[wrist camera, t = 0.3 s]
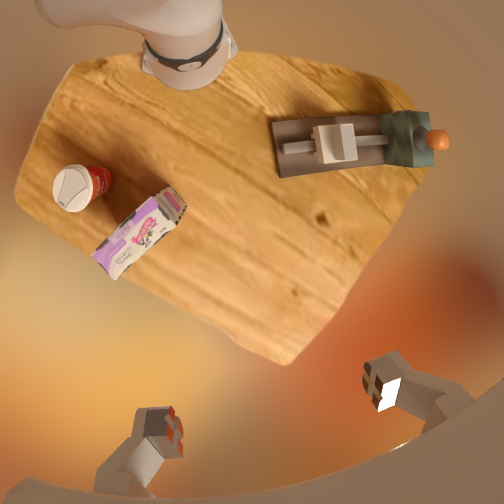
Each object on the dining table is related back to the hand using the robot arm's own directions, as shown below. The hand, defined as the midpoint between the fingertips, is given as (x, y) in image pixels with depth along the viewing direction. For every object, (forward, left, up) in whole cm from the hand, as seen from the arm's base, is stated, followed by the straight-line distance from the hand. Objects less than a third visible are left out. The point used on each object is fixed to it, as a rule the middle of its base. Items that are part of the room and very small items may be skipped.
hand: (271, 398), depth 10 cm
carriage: (-8, +22, -45) cm, 51 cm away
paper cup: (-10, -23, -47) cm, 54 cm away
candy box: (0, -14, -47) cm, 49 cm away
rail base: (-8, +27, -47) cm, 55 cm away
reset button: (-8, +39, -33) cm, 51 cm away
